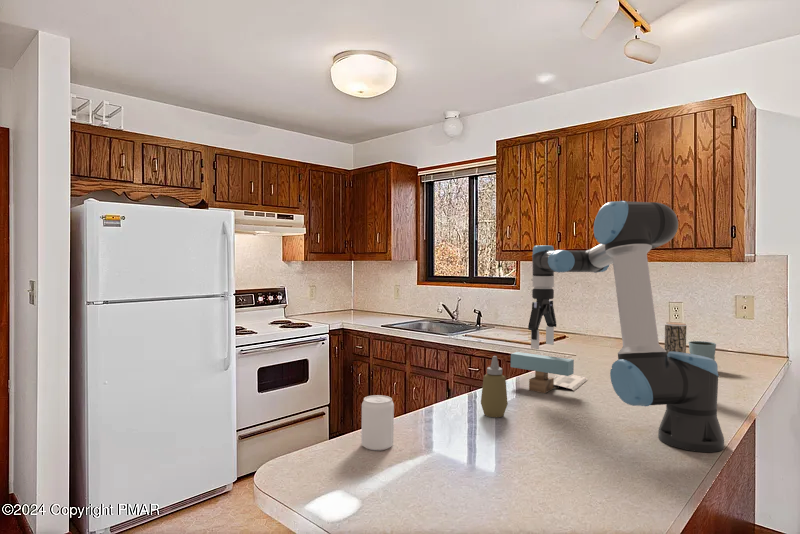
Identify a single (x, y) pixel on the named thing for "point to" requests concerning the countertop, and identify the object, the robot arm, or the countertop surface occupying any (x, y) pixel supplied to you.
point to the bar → (542, 363)
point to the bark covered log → (675, 337)
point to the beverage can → (377, 422)
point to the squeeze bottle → (494, 391)
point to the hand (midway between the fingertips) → (542, 346)
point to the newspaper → (569, 381)
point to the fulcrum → (541, 382)
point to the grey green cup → (702, 349)
